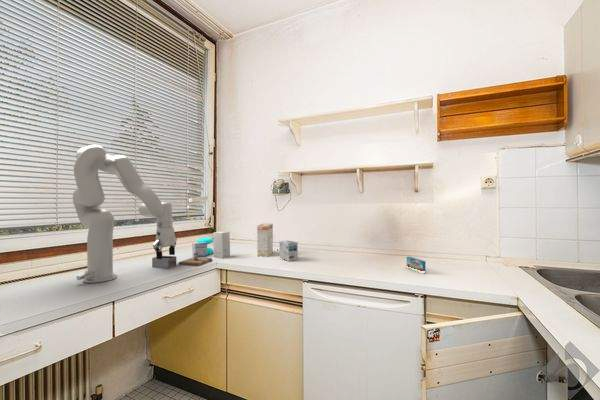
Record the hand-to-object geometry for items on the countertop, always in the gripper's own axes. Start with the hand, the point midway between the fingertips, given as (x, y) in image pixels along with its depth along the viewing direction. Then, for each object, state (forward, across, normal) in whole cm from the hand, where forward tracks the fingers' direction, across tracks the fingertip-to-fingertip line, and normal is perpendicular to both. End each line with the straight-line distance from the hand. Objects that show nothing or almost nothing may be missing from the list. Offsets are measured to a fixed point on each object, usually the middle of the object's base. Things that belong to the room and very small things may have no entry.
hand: (165, 256), depth 157 cm
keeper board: (+6, +11, -11) cm, 16 cm away
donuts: (+6, +36, -1) cm, 37 cm away
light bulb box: (+7, +33, -59) cm, 68 cm away
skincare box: (+6, +29, -17) cm, 34 cm away
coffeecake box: (+7, +44, -40) cm, 60 cm away
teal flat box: (+8, +23, -129) cm, 131 cm away
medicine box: (+6, +27, -3) cm, 28 cm away
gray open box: (+5, -1, 0) cm, 5 cm away
